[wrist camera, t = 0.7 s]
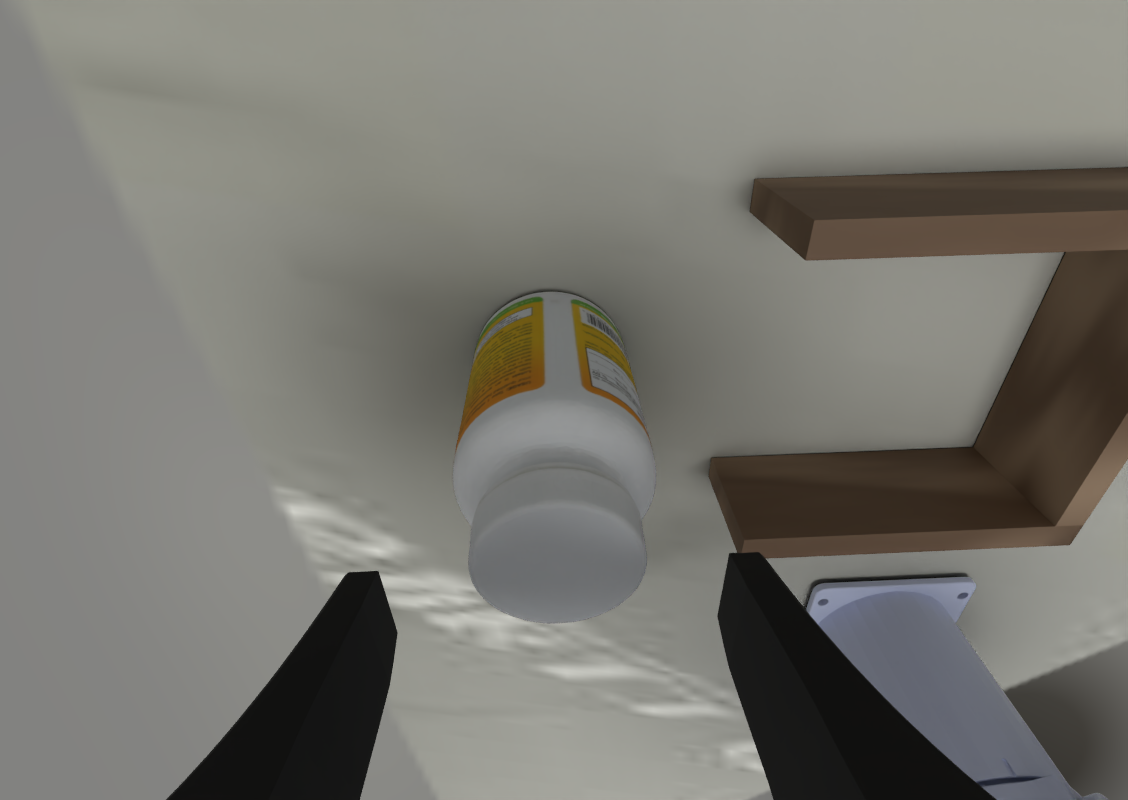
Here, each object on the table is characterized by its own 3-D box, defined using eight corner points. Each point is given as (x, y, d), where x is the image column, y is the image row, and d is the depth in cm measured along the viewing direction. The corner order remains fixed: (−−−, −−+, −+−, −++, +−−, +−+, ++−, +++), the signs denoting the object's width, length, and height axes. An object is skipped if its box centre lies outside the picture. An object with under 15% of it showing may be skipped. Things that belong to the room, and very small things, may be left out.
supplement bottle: (473, 413, 22) (435, 641, 14) (477, 280, 19) (431, 470, 11) (612, 422, 22) (654, 647, 14) (635, 294, 19) (706, 485, 11)
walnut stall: (987, 465, 24) (1070, 545, 20) (708, 476, 24) (740, 559, 20) (1137, 166, 18) (1299, 204, 14) (754, 178, 17) (814, 220, 14)
